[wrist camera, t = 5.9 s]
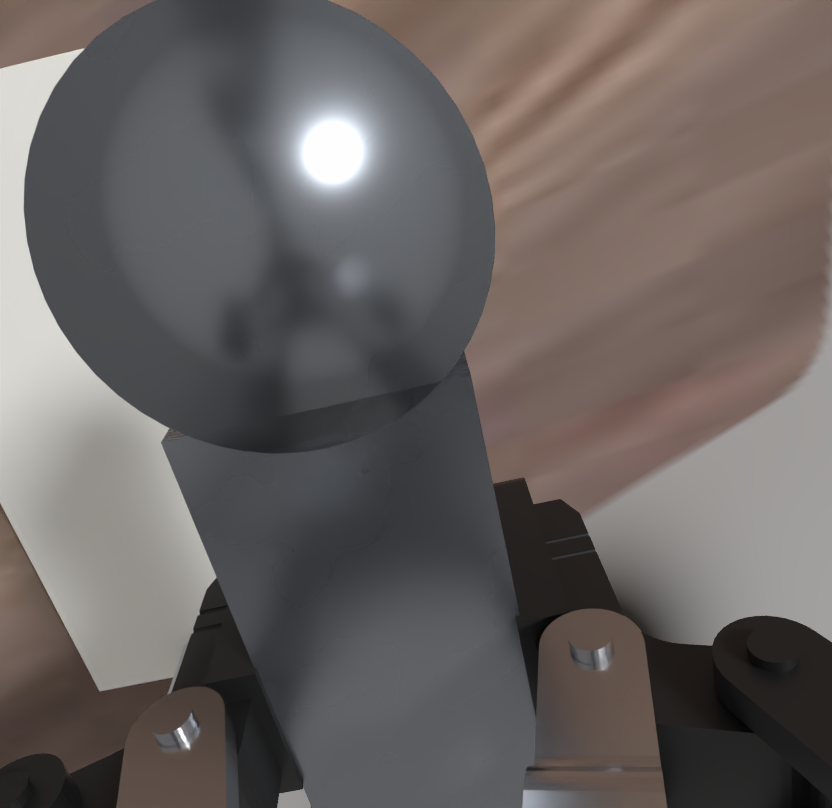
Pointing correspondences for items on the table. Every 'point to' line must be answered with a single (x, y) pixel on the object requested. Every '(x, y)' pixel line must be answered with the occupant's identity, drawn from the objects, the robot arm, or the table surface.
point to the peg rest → (85, 457)
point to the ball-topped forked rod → (304, 368)
